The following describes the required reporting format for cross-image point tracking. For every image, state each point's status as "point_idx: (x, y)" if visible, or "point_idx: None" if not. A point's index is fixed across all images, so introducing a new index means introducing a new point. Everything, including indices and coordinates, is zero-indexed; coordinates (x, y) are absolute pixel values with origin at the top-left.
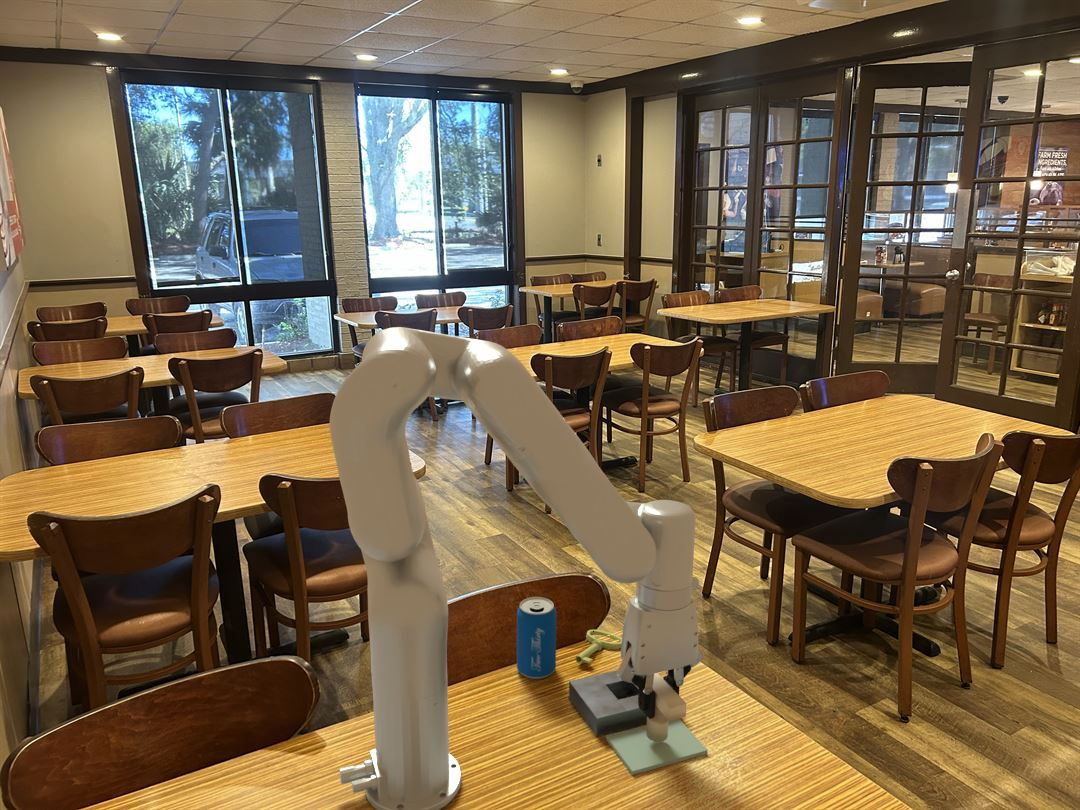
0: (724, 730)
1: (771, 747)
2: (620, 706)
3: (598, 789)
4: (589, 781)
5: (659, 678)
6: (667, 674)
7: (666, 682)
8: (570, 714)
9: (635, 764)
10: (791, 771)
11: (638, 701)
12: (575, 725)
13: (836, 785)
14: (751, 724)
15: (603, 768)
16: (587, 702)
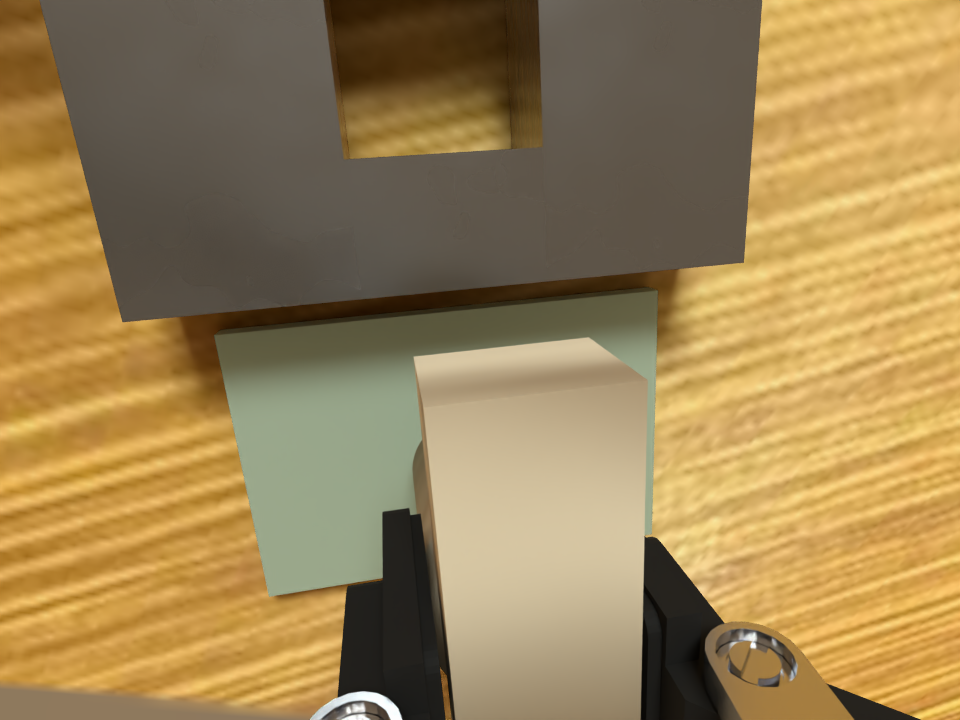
0: (797, 407)
1: (882, 535)
2: (334, 239)
3: (87, 633)
4: (53, 585)
5: (611, 640)
6: (709, 685)
7: (645, 676)
8: (41, 28)
9: (300, 560)
10: (850, 648)
11: (346, 607)
12: (57, 156)
13: (917, 714)
14: (918, 398)
15: (146, 522)
16: (88, 114)
